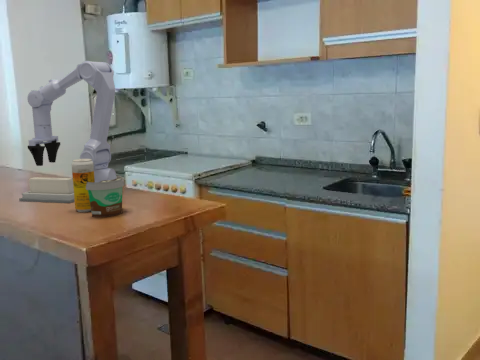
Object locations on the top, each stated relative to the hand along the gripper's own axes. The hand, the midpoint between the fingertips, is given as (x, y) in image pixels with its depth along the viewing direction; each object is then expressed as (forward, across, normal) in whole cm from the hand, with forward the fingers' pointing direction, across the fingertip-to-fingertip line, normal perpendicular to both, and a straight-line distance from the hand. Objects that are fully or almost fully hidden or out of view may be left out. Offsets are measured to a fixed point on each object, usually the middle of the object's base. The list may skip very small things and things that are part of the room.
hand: (46, 164), depth 174 cm
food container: (+10, +28, +39) cm, 49 cm away
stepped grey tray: (+9, +13, +10) cm, 19 cm away
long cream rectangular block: (+9, +13, +10) cm, 18 cm away
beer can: (+10, +25, +29) cm, 39 cm away
